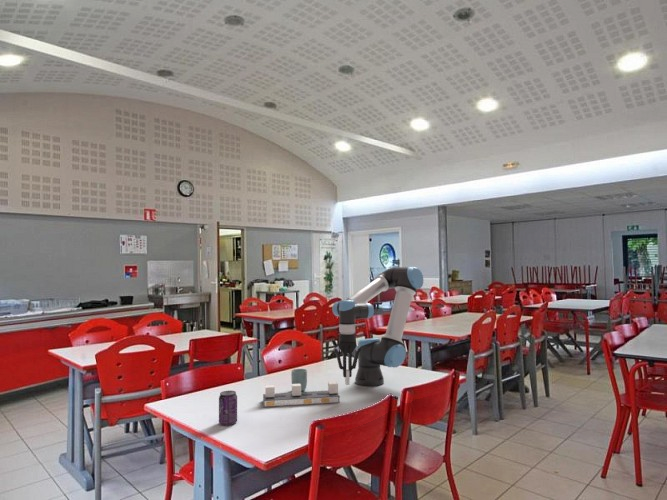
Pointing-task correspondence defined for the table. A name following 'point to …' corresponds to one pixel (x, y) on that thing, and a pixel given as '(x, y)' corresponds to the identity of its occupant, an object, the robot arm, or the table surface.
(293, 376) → the cup
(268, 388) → the slider
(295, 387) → the slider
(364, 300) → the robot arm
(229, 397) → the beverage can
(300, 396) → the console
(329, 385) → the slider
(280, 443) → the table surface
